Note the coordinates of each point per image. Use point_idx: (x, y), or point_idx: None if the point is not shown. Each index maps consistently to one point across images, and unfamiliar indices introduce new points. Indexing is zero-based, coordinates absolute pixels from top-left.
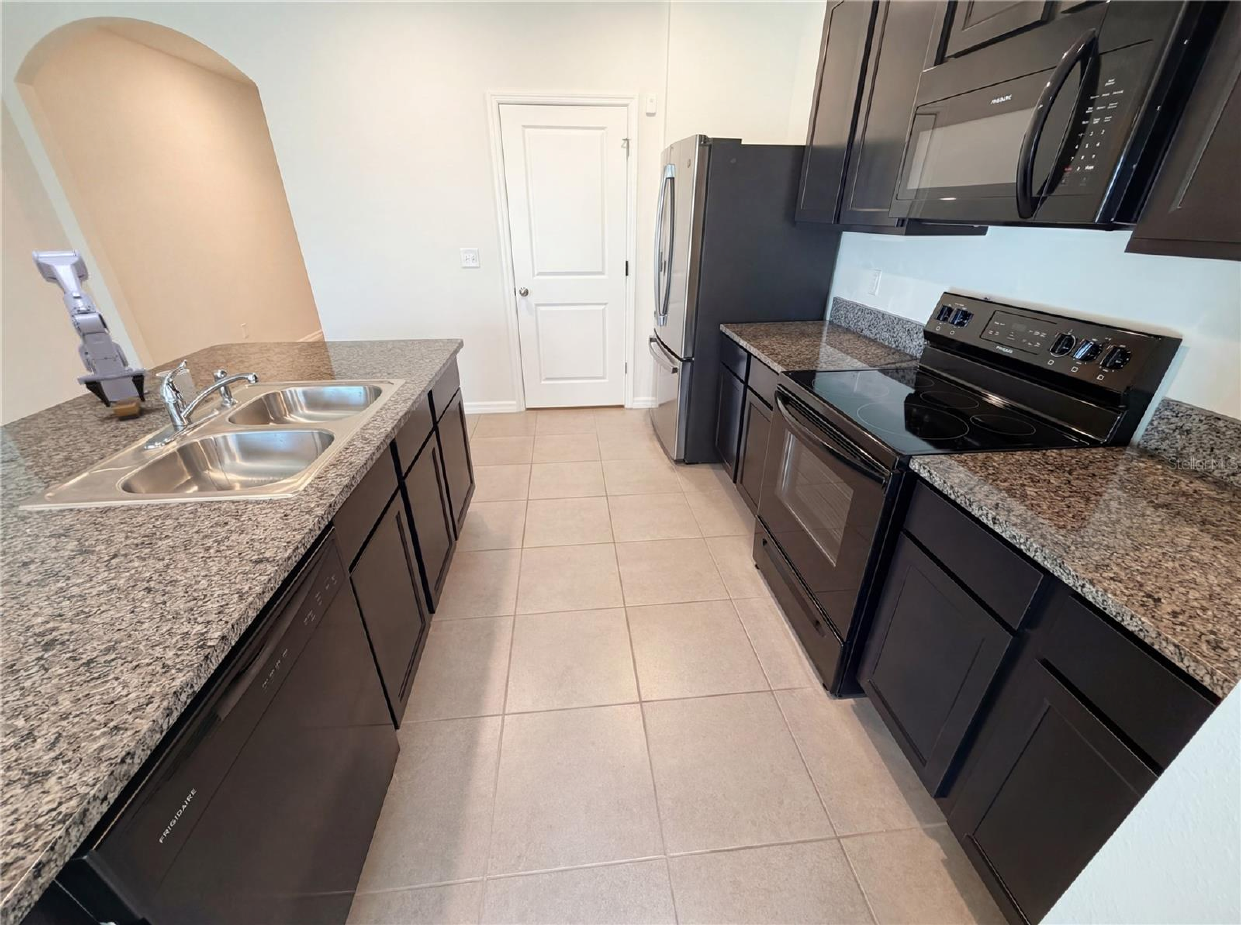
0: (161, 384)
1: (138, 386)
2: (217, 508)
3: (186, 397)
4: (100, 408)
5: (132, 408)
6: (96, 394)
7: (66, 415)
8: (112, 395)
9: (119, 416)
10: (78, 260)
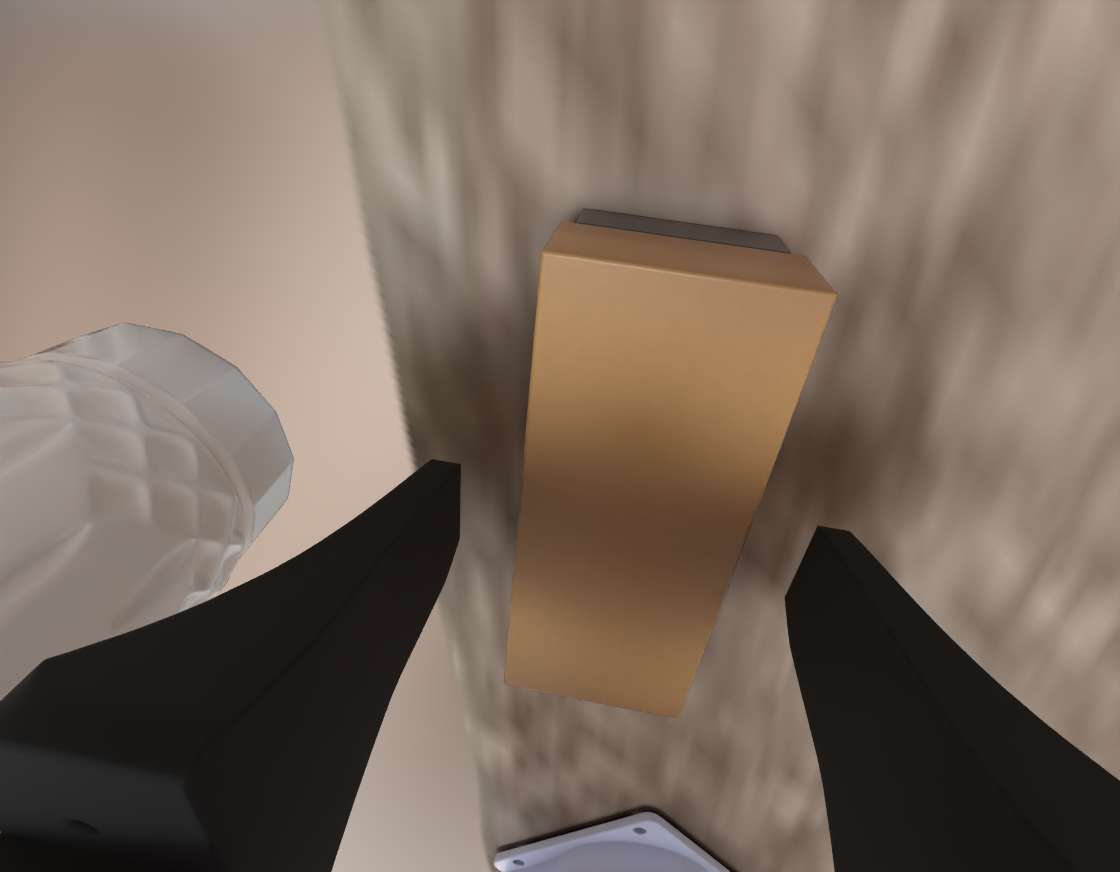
0: (51, 617)
1: (273, 609)
2: None
3: (12, 361)
4: (793, 776)
5: (581, 245)
6: (1030, 723)
7: None
8: None
9: (774, 253)
10: None
